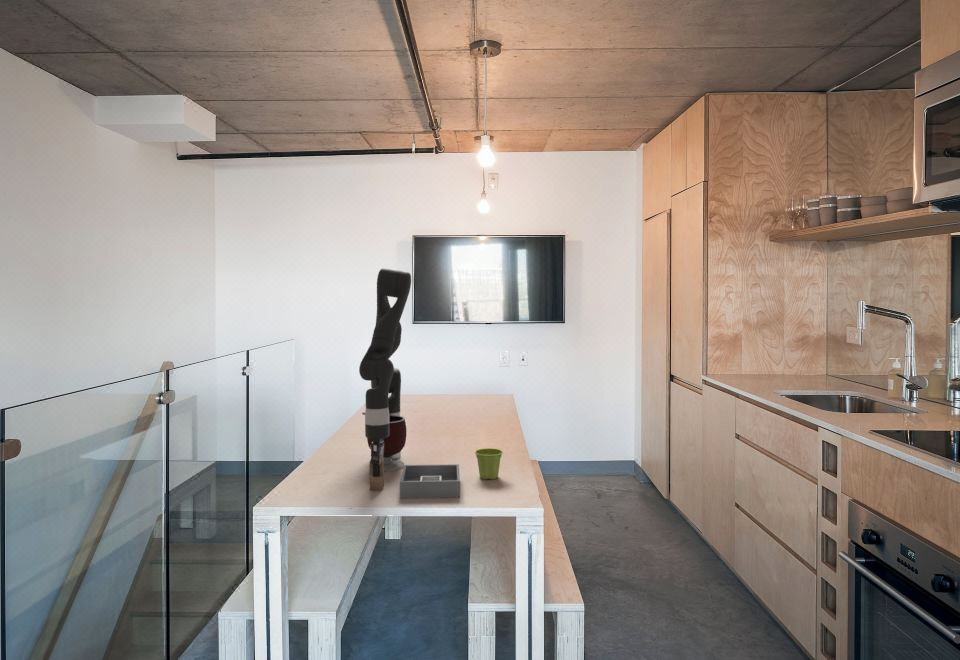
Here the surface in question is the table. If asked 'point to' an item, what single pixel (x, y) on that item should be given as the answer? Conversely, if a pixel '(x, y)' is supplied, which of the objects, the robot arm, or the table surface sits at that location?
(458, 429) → the table surface
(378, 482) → the brown block
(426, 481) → the grey square tray
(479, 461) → the plant pot
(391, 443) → the mate gourd
